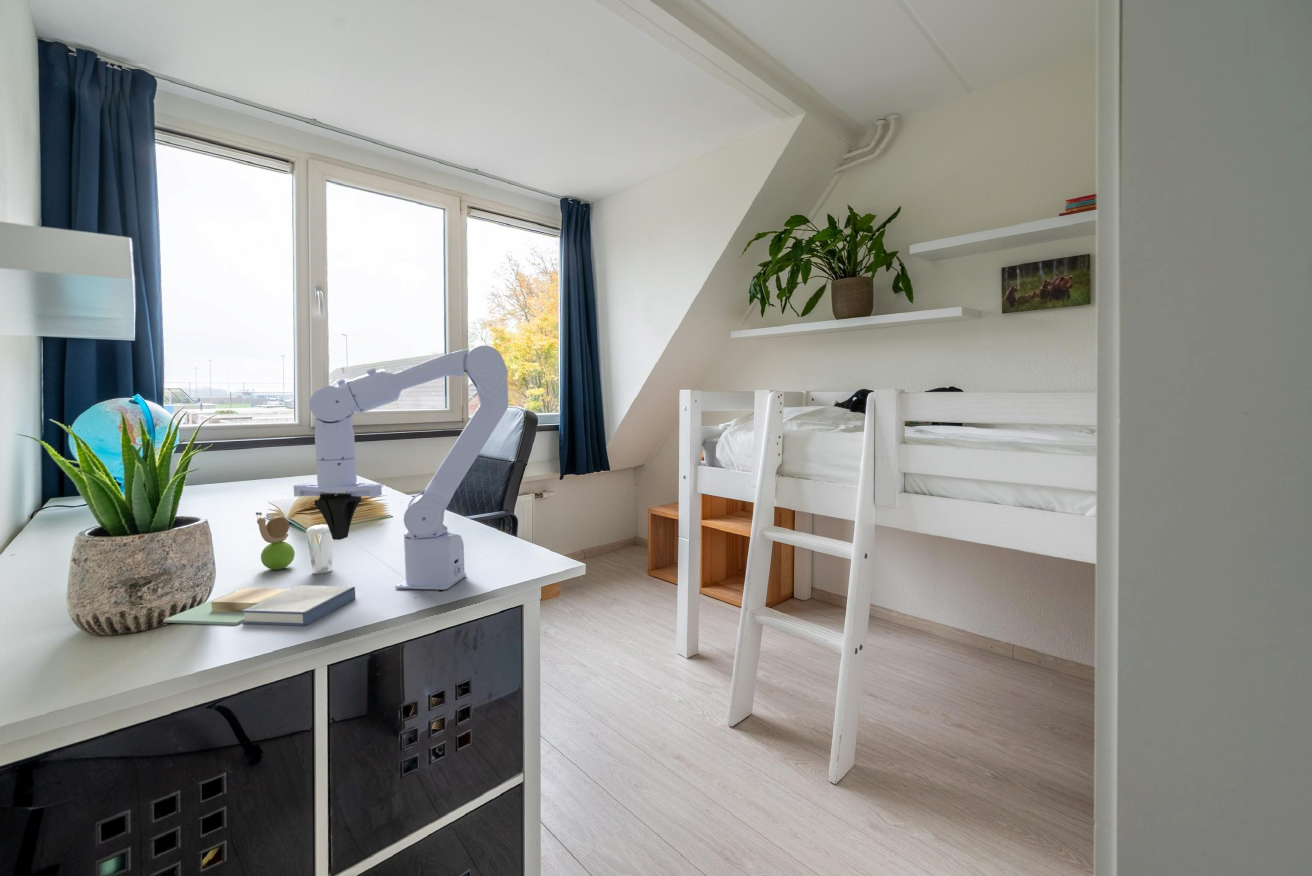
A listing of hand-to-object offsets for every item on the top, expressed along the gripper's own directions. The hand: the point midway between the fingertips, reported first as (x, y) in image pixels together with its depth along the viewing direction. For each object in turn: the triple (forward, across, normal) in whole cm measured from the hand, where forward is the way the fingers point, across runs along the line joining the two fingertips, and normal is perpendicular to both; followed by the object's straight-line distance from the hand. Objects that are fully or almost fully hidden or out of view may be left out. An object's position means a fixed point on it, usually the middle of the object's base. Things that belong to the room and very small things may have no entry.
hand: (340, 538), depth 92 cm
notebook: (+9, +1, +8) cm, 12 cm away
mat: (+9, +12, +8) cm, 18 cm away
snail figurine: (+10, +22, -11) cm, 26 cm away
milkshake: (+10, +12, -11) cm, 19 cm away
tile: (+9, +10, +7) cm, 15 cm away
